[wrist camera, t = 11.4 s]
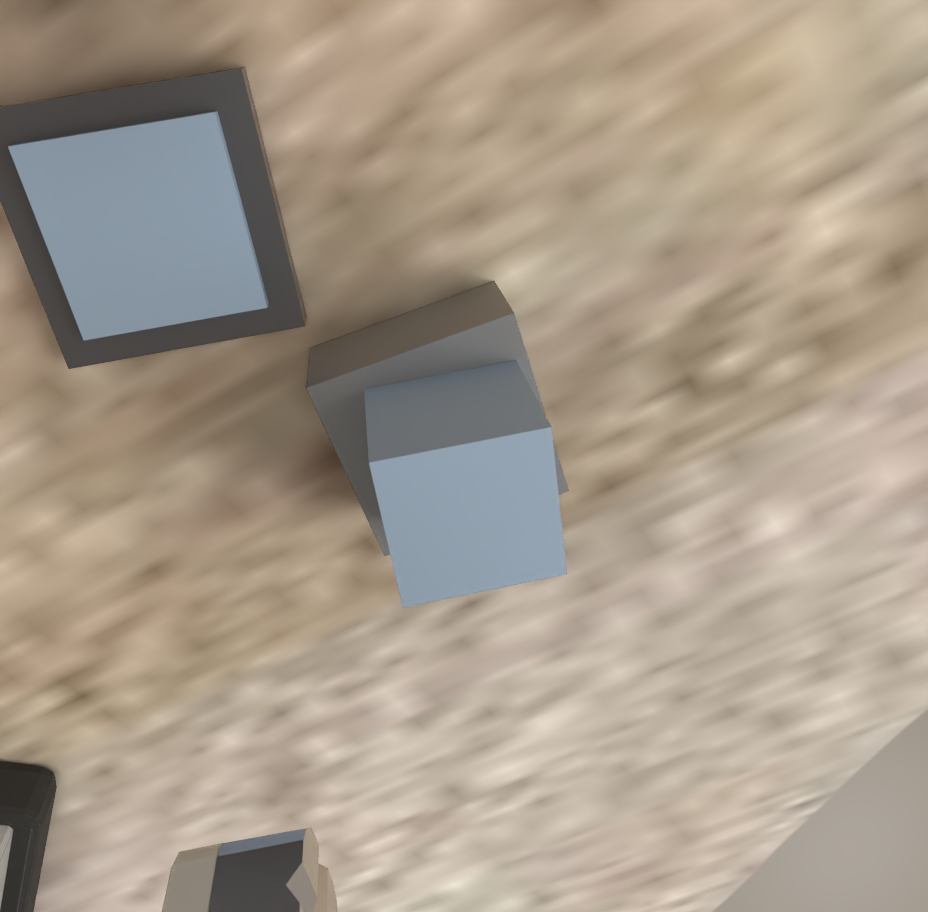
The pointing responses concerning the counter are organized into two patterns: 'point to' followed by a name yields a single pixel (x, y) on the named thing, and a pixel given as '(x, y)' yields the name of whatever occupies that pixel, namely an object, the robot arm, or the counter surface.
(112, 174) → the tile
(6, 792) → the container
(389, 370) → the riser block
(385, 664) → the counter surface
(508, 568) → the slate blue cube
